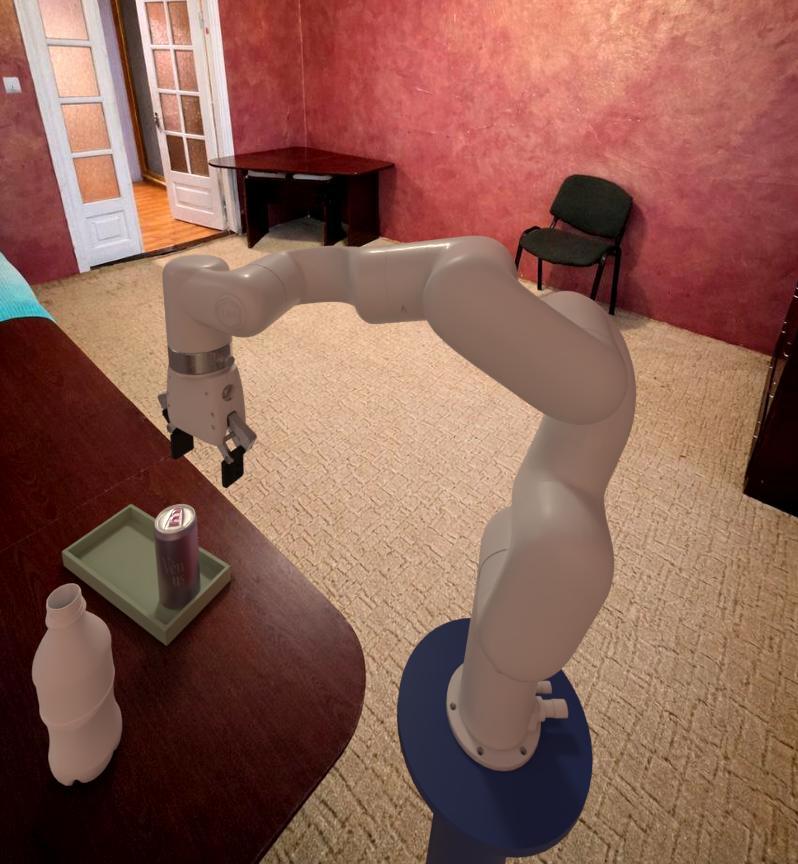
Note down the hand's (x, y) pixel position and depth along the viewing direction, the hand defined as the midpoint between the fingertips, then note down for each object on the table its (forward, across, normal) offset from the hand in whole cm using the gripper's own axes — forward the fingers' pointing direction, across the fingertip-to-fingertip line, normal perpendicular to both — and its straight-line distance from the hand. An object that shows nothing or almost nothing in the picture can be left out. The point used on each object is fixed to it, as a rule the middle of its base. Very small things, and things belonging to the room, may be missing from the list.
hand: (207, 467), depth 65 cm
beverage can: (+28, +8, 0) cm, 29 cm away
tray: (+28, +16, 0) cm, 32 cm away
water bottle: (+28, 0, +19) cm, 34 cm away
